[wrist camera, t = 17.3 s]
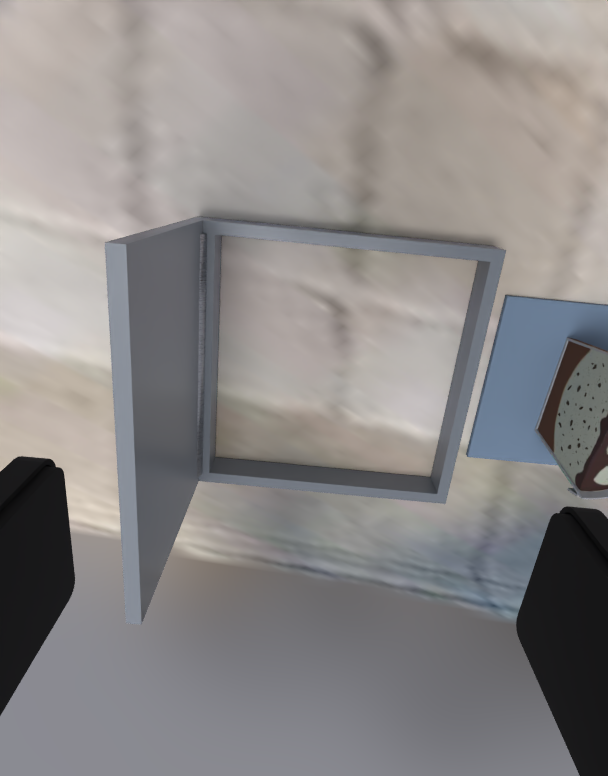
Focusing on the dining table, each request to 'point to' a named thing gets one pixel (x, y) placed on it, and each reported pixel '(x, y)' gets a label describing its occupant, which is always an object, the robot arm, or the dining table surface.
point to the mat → (528, 373)
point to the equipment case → (199, 382)
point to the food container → (579, 418)
